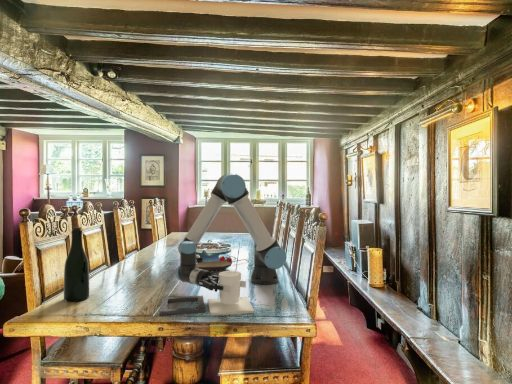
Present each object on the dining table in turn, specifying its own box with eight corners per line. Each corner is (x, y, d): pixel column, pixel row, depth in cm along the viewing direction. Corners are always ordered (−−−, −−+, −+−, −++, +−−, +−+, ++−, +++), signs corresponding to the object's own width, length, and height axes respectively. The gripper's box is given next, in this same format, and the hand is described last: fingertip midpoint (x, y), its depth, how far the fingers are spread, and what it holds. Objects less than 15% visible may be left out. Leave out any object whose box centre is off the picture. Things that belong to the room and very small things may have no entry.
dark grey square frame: (202, 298, 160) (202, 295, 160) (204, 312, 142) (204, 308, 142) (162, 300, 156) (162, 297, 156) (159, 315, 139) (159, 311, 139)
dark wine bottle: (71, 294, 164) (72, 225, 164) (93, 295, 164) (93, 225, 163) (58, 302, 153) (58, 228, 153) (81, 302, 153) (81, 228, 153)
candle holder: (237, 305, 143) (238, 277, 143) (215, 303, 145) (215, 275, 145) (243, 298, 153) (243, 271, 153) (222, 296, 155) (222, 270, 155)
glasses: (218, 262, 240) (218, 255, 240) (236, 259, 251) (236, 252, 251) (231, 265, 230) (231, 258, 230) (249, 262, 241) (249, 255, 241)
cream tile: (246, 299, 160) (246, 296, 160) (254, 312, 142) (254, 310, 142) (207, 301, 156) (207, 299, 156) (210, 315, 139) (210, 313, 139)
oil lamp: (201, 278, 197) (201, 264, 197) (187, 267, 224) (188, 255, 224) (237, 274, 207) (237, 261, 207) (220, 264, 234) (220, 252, 234)
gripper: (218, 281, 169) (253, 289, 155) (183, 291, 152) (219, 302, 138) (218, 265, 169) (254, 273, 155) (183, 274, 152) (219, 283, 138)
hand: (237, 286), depth 146 cm, fingers closed on candle holder, 9 cm apart
